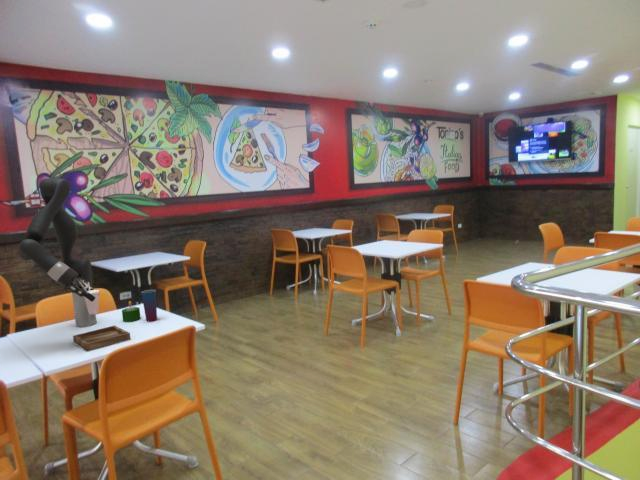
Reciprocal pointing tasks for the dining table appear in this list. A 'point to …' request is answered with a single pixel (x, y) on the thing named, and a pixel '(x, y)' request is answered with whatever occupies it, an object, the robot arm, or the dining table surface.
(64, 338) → the dining table surface
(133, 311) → the candle
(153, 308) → the cup
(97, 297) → the smoothie
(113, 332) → the tray
